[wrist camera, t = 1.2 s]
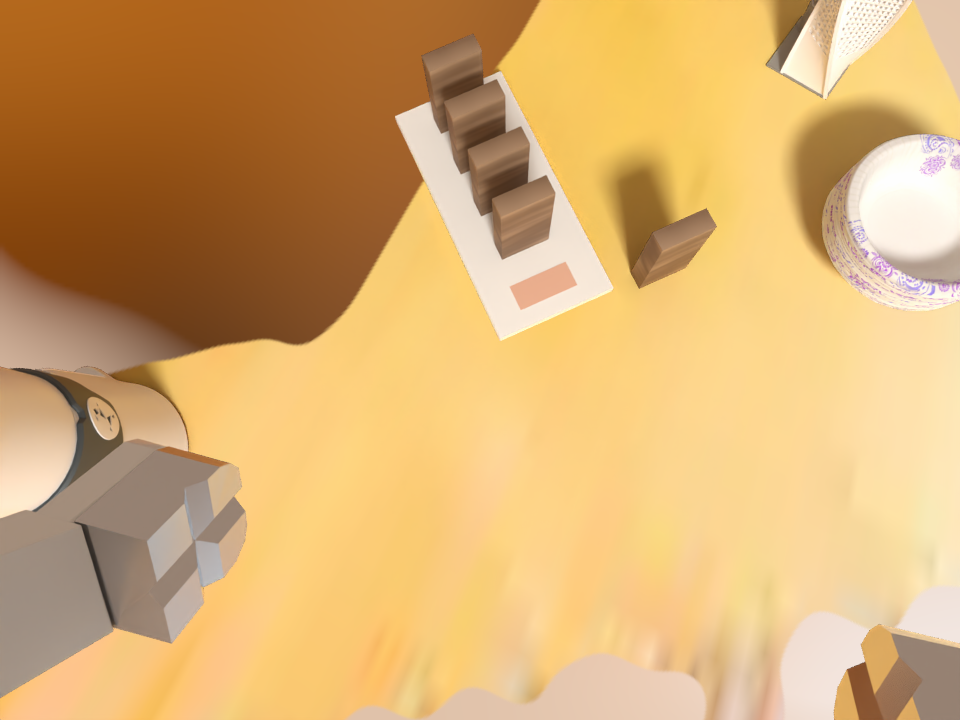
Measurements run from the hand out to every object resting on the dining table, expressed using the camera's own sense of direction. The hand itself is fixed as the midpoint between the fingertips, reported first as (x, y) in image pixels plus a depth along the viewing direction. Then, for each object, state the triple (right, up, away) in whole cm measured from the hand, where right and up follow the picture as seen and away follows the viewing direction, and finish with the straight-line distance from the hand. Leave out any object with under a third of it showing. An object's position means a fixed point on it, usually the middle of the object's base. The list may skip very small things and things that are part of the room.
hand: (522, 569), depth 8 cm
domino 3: (+1, +19, +57) cm, 60 cm away
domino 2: (-1, +23, +58) cm, 62 cm away
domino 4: (+3, +14, +56) cm, 58 cm away
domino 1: (-3, +28, +59) cm, 65 cm away
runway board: (+1, +19, +58) cm, 61 cm away
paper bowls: (+39, +14, +56) cm, 69 cm away
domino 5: (+17, +11, +56) cm, 60 cm away
